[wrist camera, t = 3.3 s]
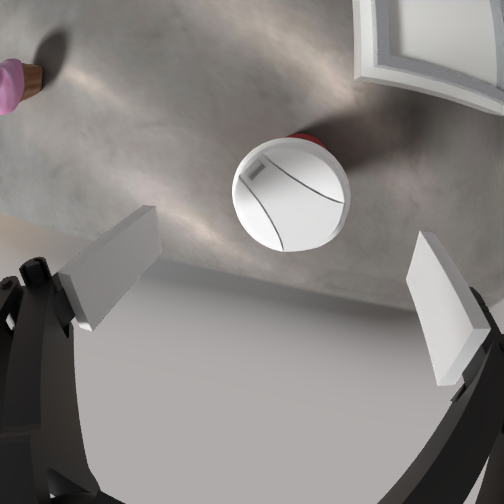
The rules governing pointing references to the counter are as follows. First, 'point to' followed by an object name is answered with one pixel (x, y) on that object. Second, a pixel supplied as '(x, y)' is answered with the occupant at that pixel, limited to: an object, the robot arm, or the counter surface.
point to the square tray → (433, 48)
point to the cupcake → (18, 83)
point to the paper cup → (291, 193)
